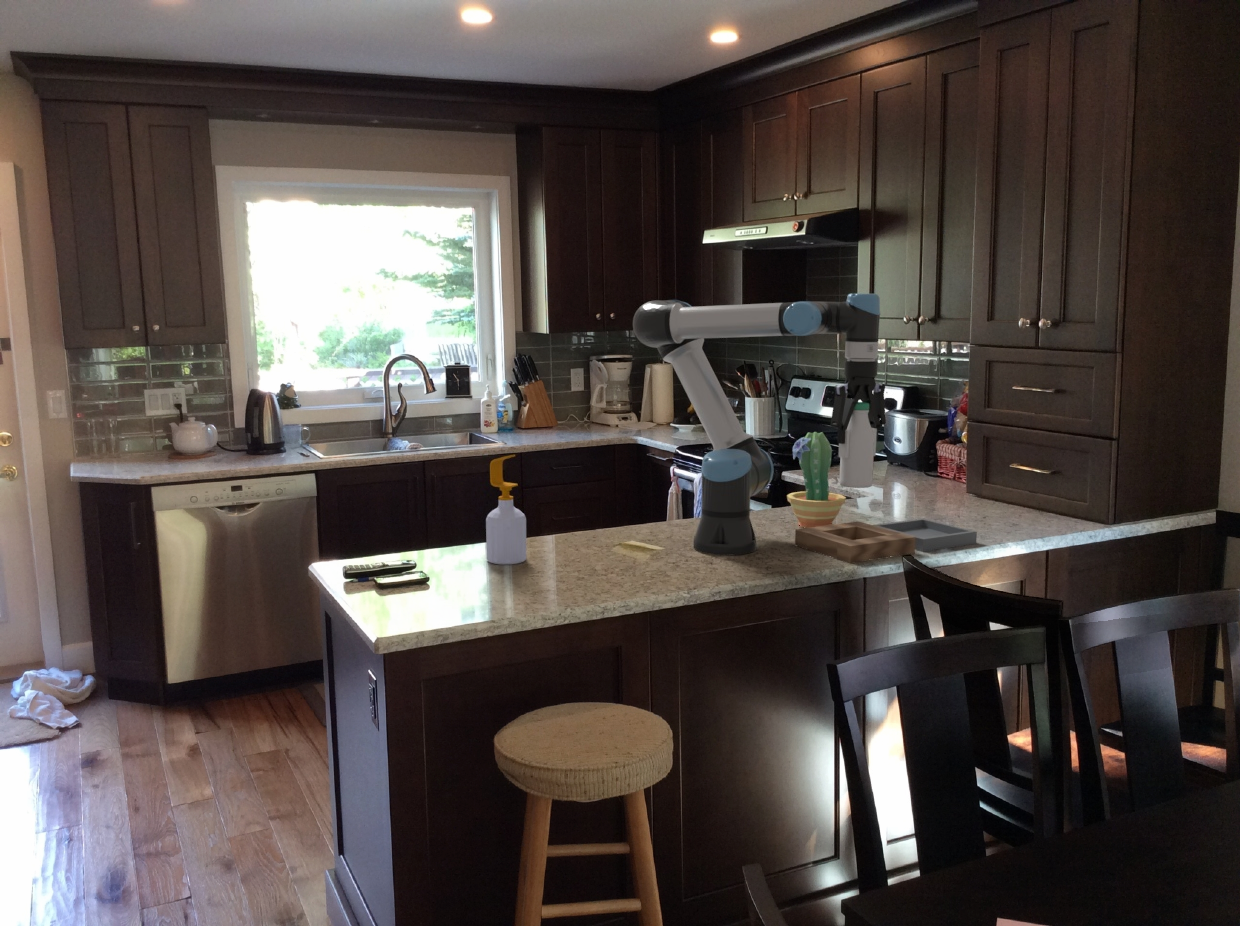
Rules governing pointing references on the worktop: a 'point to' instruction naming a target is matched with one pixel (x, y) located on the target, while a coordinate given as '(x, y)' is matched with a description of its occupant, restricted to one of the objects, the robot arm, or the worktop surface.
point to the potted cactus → (815, 483)
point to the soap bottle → (505, 523)
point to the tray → (932, 534)
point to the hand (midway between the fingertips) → (857, 456)
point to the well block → (855, 541)
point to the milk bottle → (858, 450)
